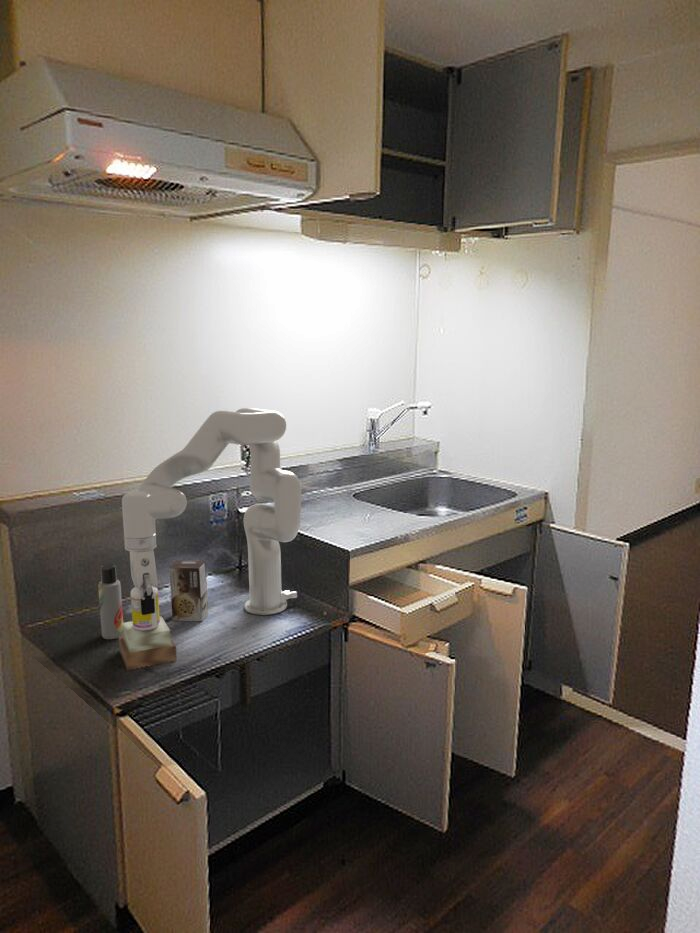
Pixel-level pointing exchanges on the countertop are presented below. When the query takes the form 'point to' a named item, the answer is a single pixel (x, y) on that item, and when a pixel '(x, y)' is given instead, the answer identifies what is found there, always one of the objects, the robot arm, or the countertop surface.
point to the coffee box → (188, 590)
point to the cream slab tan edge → (146, 646)
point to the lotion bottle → (110, 603)
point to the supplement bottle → (138, 619)
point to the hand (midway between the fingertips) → (144, 606)
